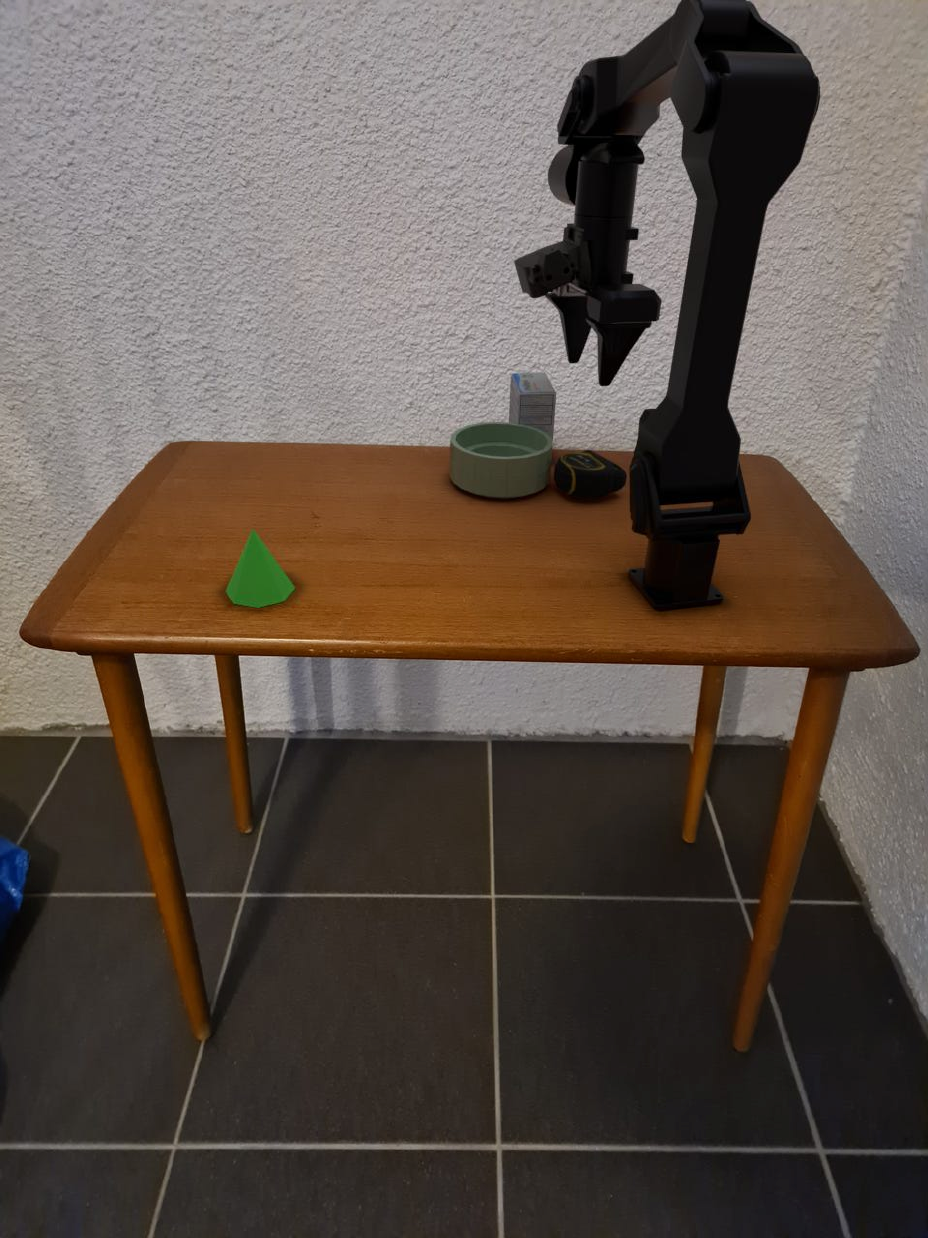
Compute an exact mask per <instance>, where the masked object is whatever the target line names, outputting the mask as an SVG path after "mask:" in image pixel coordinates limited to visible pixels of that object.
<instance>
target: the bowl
mask: <svg viewBox="0 0 928 1238" xmlns="http://www.w3.org/2000/svg"><path fill="white" fill-rule="evenodd" d="M553 447H554V438H553V439H552V438H551V437H550V436H549V435H548V434H547V433H546V432H544V431H542V430H540V429H538V428H534V427H531V426H528V425H523V424H517V423H510V422H509V421H506V422H505V421H486V422H485V421H484V422H477V423H472V424H467V425H465V426H463V427H459V428H457V429H456V430H454V432H452V433H451V435H450V439H449V478H450V479H451V482H452V483H453V484H454V485H455V486H456V487H458V488H460V489H461V490H463V491H465V492H469V493H471V494H473V495H475V496H479V497H485V498H489V499H518V498H521V497H526V496H528V495H529V496H530V495H533V494H536V493H538V492H540V491H542V490H544V489H545V488H546V487H547V486H548V484H550V482H551V471H552V470H551V469H552V462H553V461H552V458H553V449H554V448H553Z"/></svg>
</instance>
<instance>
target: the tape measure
mask: <svg viewBox="0 0 928 1238" xmlns="http://www.w3.org/2000/svg"><path fill="white" fill-rule="evenodd" d="M552 478H553V481H554V485H555V486H556V488H557V489H558V490H559V491H560V492H563V493H565V494H566V495H569V496H570V497H571V496H572V497H574V498H575V497H576V498H577V499H600V498H603V497H605V496H606V497H607V496H608V495H610V494H613V493H616V492H619V491H621V490H622V489H623V488H624V487H625V486H626V485H627V484H626V483H627V478H628V475H627V472H626V471H625V469H623V468H622V467H621V466H620V465H618V464H617V463H615V462H613V461H611V460H610V459H607V458H606V457H605V456H603V455H600V454H598V453H597V452H595V451H593V450H590V449H587V450H586V449H585V450H583V451H571V452H567V453H564V454H562V455H561V456H559V458H557V460H556V464H555V465H554V469H553V477H552Z"/></svg>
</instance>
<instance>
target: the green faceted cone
mask: <svg viewBox="0 0 928 1238" xmlns="http://www.w3.org/2000/svg"><path fill="white" fill-rule="evenodd" d="M295 589H296V586H295V585H294V584H293V582H292V581H291V580H290V578H289V577H288V576H287V574H286V573H285V571H284V570H283V568H282V567H281V566H280V564H279V563H278V562H277V560H276V558H275V557H274V556H273V555H272V553H271V552H270V550H269V548H268V547H267V546H266V545H265V543H264V542H263V540H262V539H261V537H259V534H258V533H257V532H256V530H254V528H252V529H251V531H250V534H249V536H248V538H247V540H246V542H245V545H244V547H243V550H242V552H241V554H240V557H239V558H238V561H237V564H236V565H235V568H234V571H233V573H232V575H231V578H230V580H229V582H228V585H227V587H226V589H225V593H226V595H227V596H228V598H229V599H230V601H231V602H232V604H233V605H238V606H245V607H250V608H257V609H260V608H263V607H268V606H271V605H275V604H280V603H283V602H285V601H286V600H287V599H288V597H289V596H290V595H291V594H292V593H293V592H294V591H295Z"/></svg>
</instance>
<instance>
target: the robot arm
mask: <svg viewBox="0 0 928 1238" xmlns="http://www.w3.org/2000/svg"><path fill="white" fill-rule="evenodd" d="M669 99H670V101H671V103H672V105H673V107H674V109H675V112H676V114H677V116H678V118H679V121H680V122H681V125H682V140H681V150H680V151H681V153H680V154H681V155H680V157H681V160H682V163H683V166H684V168H685V171H686V174H687V177H688V179H689V181H690V184H691V186H692V190H693V192H694V194H695V197H696V205H695V211H694V220H693V225H692V231H691V238H690V244H689V250H688V257H687V262H686V267H685V268H686V270H685V275H684V282H683V288H682V293H681V301H680V307H679V314H678V320H677V327H676V333H675V339H674V346H673V352H672V359H671V364H670V370H669V378H668V383H667V389H666V394H665V396H664V397H663V398H662V400H661V401H660V403H659V404H658V405H657V407H656V408H645V409H644V410H643V411H642V413H641V415H640V417H639V419H638V431H637V439H636V444H635V447H634V449H633V455H632V458H631V461H630V464H629V469H628V470H629V471H628V475H629V477H628V478H629V513H630V520H631V528H630V529H631V531H632V532H633V534H634V533H635V534H639V535H641V536H645V538H646V539H648V541H647V547H646V555H645V560H644V567H636V568H635V567H634V568H629V569H628V572H627V576H628V578H629V579H630V580H631V581H632V582H633V584H634V585H635V586H636V587H637V589H638V590H639V591H640V592H641V593H642V594H643V596H644V597H645V598H646V600H647V601H648V602H649V604H651V606H652V607H653V608H654V609H656V610H669V609H678V608H686V607H695V606H696V607H697V606H705V605H712V604H721V603H723V601H724V598H725V597H724V594H722V592H720V591H719V590H718V588H717V587H716V586H715V584H713V583H712V580H713V576H714V571H715V566H716V563H717V562H716V561H717V558H718V554H719V553H718V552H719V548H720V543H721V540H720V538H719V537H720V536H726V535H737V536H739V535H744V533H745V532H746V529H747V528H748V526H749V524H750V523H751V519H752V513H751V508H750V504H749V499H748V495H747V491H746V486H745V485H746V484H745V481H744V477H743V472H742V468H741V467H742V466H741V463H740V453H741V444H742V438H741V436H740V433H739V430H738V428H737V426H736V423H735V420H734V418H733V416H732V414H731V411H730V409H729V403H730V401H729V400H730V395H731V390H732V386H733V381H734V376H735V371H736V365H737V360H738V355H739V350H740V345H741V340H742V336H743V331H744V326H745V320H746V317H747V316H746V315H747V310H748V307H749V306H748V305H749V301H750V295H751V290H752V286H753V281H754V274H755V269H756V266H757V260H758V255H759V250H760V245H761V241H762V234H763V230H764V225H765V221H766V215H767V210H768V207H769V204H770V202H771V201H773V199H774V198H775V196H776V195H777V193H778V192H779V191H780V190H781V189H782V187H783V186H784V184H785V183H786V182H787V180H788V179H789V178H790V177H791V175H792V174H793V172H795V170H796V169H797V168H798V166H799V165H800V163H801V161H802V158H803V155H804V153H805V152H804V151H805V148H806V145H807V141H808V138H809V136H810V135H809V134H810V130H811V129H812V125H813V122H814V121H815V119H816V115H817V114H818V111H819V105H820V101H821V85H820V79H819V77H818V76H817V75H816V73H815V71H814V69H813V66H812V62H811V61H810V59H808V57H807V55H805V54H804V52H803V50H802V48H801V47H800V46H799V45H798V43H797V42H795V41H794V40H792V38H790V37H788V36H787V35H786V34H784V33H783V32H781V31H780V30H778V29H777V28H776V27H774V26H773V25H772V24H770V23H768V22H767V21H766V20H765V19H763V18H762V16H761V15H760V13H759V10H758V9H757V7H756V6H755V4H754V3H753V2H752V1H751V0H680V2H678V4H677V6H676V8H675V11H674V13H673V14H672V15H670V16H669V17H668V18H667V19H666V20H665V21H664V22H662V23H661V24H659V26H657V27H656V28H655V29H654V30H653V31H651V32H650V33H649V34H648V35H646V36H645V37H644V38H643V39H641V40H640V41H639V42H638V43H637V44H635V46H633V47H632V48H631V49H630V50H628V51H627V52H626V53H624V54H621V55H615V56H603V57H597V58H594V59H591V60H588V61H586V62H585V63H584V64H583V65H582V67H581V68H580V71H579V73H578V75H577V76H575V78H574V79H573V82H572V85H571V88H570V90H569V91H568V94H567V96H566V99H565V102H564V105H563V108H562V111H561V113H560V116H559V119H558V121H557V124H556V128H557V135H558V136H557V144H558V145H562V146H564V147H562V148H561V149H560V150H559V151H558V152H557V153H556V154H555V155H554V156H553V158H552V160H551V162H550V165H549V167H548V170H547V184H548V187H549V190H550V192H551V193H552V195H553V197H554V198H556V199H557V200H558V201H559V202H561V203H563V204H566V205H569V206H571V207H572V206H573V207H574V215H573V223H569V222H568V223H566V226H565V227H564V228H563V237H562V240H561V241H558V242H556V243H553V244H549V245H547V246H544V247H542V248H538V249H537V250H535V251H532V252H529V253H527V254H525V255H523V256H520V257H518V258H517V259H516V258H515V260H514V262H513V263H514V267H515V271H516V274H517V278H518V281H519V285H520V289H521V292H522V293H523V294H528V296H529V297H530V298H531V299H539V298H542V297H545V299H547V300H548V301H549V302H550V303H551V304H552V306H553V307H554V308H555V309H556V310H557V312H558V314H559V319H560V324H561V328H562V335H563V340H564V345H565V352H566V357H567V362H568V363H569V364H578V363H579V361H580V359H581V357H582V355H583V352H584V349H585V347H586V344H587V343H588V342H587V341H588V339H589V336H590V333H591V330H593V331H594V332H595V334H596V337H597V338H596V339H597V341H596V342H597V376H598V385H599V386H600V387H609V386H610V385H612V382H613V381H614V379H615V377H616V376H617V374H618V372H619V371H620V370H621V368H622V366H623V364H624V363H625V361H626V359H627V357H628V356H629V354H630V353H631V351H632V350H633V349H634V347H635V345H636V344H637V342H638V341H639V339H640V338H641V336H642V335H643V334H644V332H645V331H646V329H650V328H651V327H652V325H653V323H654V322H658V321H660V316H661V308H662V298H661V296H660V295H659V294H658V293H657V292H656V290H655V289H653V288H651V287H648V286H646V285H643V284H641V283H633V282H634V273H633V272H631V271H628V270H627V269H628V260H629V252H630V243H631V241H638V239H639V233H640V228H639V227H635V226H633V218H634V216H633V215H634V210H635V209H634V208H635V201H636V193H637V192H636V190H637V183H638V175H639V167H640V166H641V165H644V164H645V161H646V157H645V153H644V151H643V149H641V147H640V146H639V144H640V143H641V141H642V139H643V138H644V136H645V134H646V133H647V132H648V130H650V128H652V127H653V126H654V124H655V123H656V122H657V121H658V120H659V119H660V118H661V105H662V103H664V102H665V101H668V100H669ZM701 503H702V504H703V503H712V505H705V506H692V507H678V508H664V509H661V506H674V505H687V504H688V505H689V504H701Z"/></svg>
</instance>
